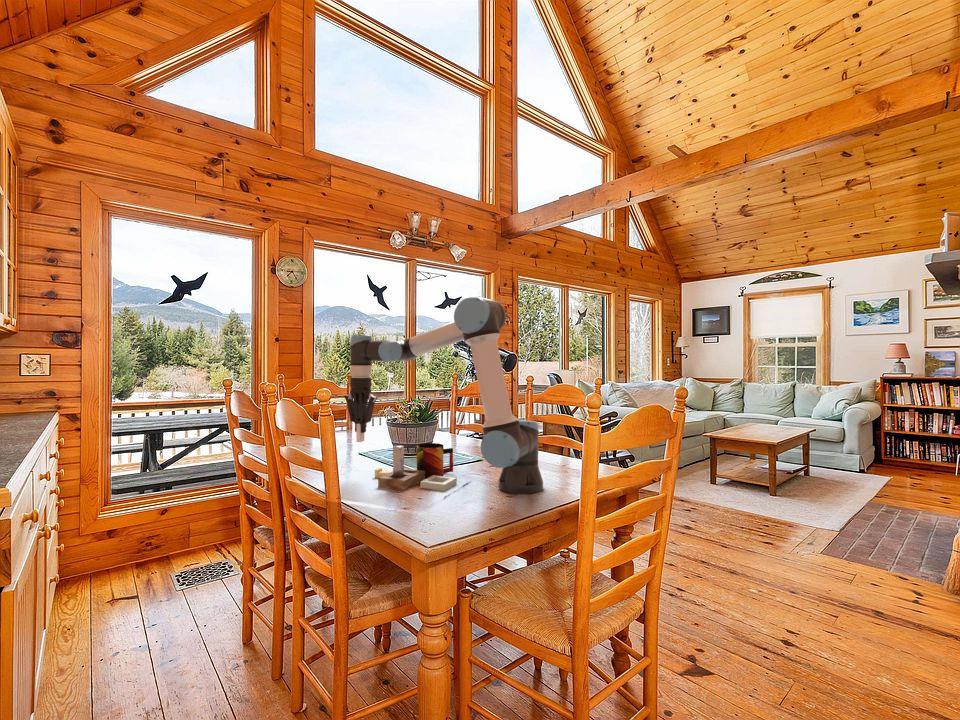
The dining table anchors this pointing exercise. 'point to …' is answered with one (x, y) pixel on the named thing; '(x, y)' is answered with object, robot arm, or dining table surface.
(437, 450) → the mug
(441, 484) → the cream square frame
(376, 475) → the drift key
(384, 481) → the socket block
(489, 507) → the dining table surface
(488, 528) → the dining table surface
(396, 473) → the peg
